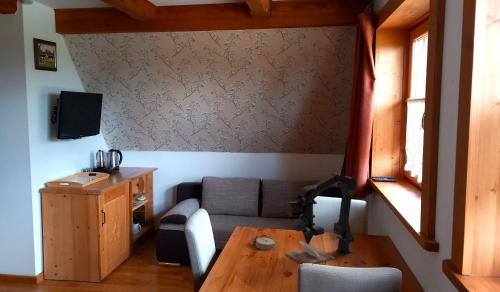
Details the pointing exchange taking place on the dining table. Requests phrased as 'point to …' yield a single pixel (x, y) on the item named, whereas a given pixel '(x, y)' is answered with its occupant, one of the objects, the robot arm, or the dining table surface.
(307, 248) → the tile
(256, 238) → the alarm clock
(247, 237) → the dining table surface
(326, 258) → the board
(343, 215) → the robot arm
